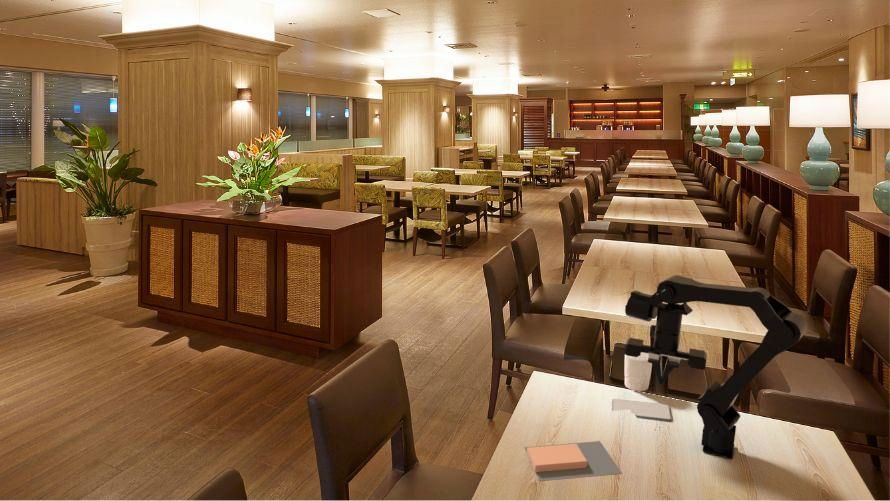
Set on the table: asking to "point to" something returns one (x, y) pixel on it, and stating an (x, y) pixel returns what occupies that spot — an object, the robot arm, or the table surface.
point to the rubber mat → (596, 463)
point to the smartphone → (643, 409)
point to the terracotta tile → (556, 457)
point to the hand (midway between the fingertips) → (661, 384)
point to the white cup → (637, 372)
